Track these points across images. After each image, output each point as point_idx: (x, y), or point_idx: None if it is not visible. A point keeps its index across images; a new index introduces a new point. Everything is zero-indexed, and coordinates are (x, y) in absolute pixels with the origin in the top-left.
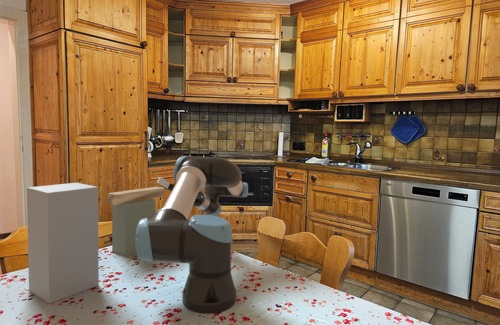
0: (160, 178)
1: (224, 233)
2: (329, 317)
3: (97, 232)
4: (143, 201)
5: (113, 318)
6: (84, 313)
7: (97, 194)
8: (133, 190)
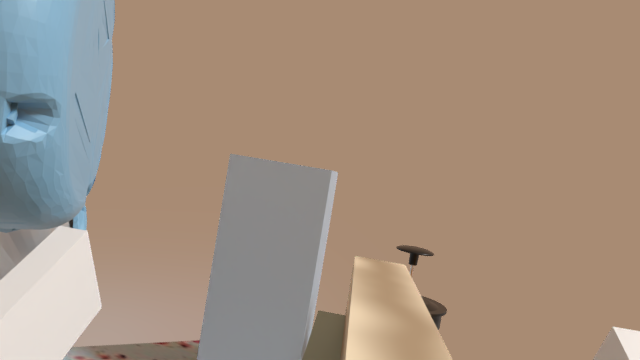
0: (605, 354)
1: None
2: None
3: (212, 268)
4: (314, 355)
5: (74, 349)
6: (138, 352)
7: (228, 172)
8: (401, 293)
